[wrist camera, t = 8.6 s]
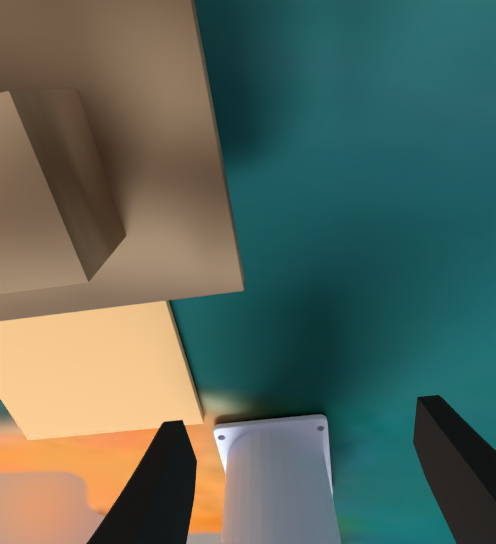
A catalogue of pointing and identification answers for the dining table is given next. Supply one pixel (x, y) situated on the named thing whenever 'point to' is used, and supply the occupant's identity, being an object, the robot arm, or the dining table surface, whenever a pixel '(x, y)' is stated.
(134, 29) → the lid
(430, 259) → the dining table surface
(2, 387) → the mat
